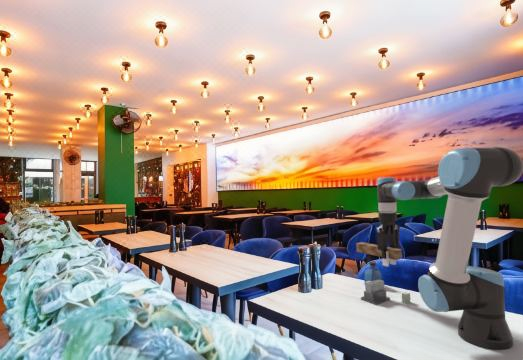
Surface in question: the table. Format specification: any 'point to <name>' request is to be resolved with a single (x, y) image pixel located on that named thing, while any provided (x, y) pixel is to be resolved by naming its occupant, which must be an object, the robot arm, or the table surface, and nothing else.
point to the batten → (373, 250)
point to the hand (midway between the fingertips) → (389, 264)
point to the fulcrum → (375, 292)
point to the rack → (404, 296)
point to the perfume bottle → (372, 273)
